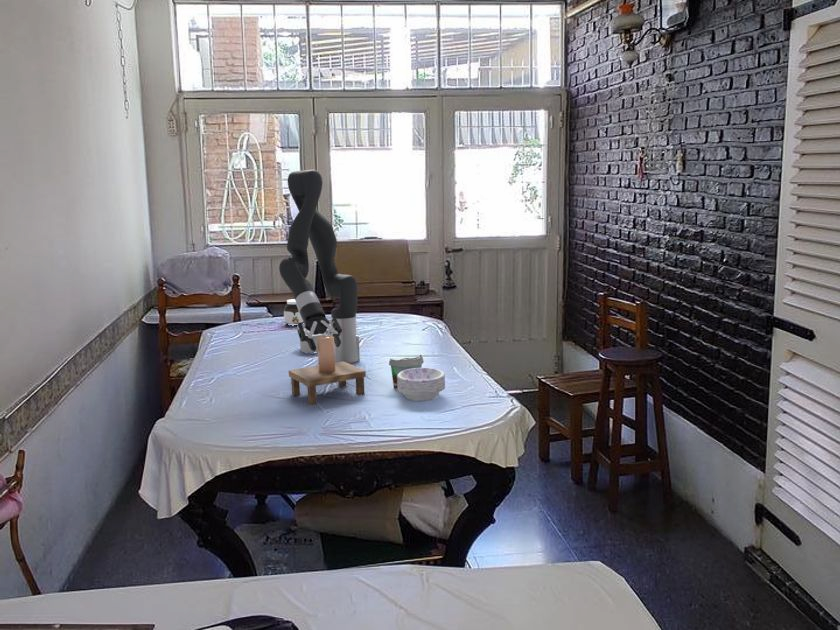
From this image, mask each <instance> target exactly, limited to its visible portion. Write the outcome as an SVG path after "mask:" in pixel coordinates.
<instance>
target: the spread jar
mask: <svg viewBox="0 0 840 630" xmlns="http://www.w3.org/2000/svg"><path fill="white" fill-rule="evenodd" d="M283 321H284V322H285V324H286V325H287V324H298V323H302V324H303V323H304V322H303V320H302V317H301V315H300V312H299V311H298V308H297V304H296V301H295V299H287V300H286V305H285V307H284V309H283Z"/></svg>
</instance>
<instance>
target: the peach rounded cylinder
mask: <svg viewBox="0 0 840 630" xmlns="http://www.w3.org/2000/svg"><path fill="white" fill-rule="evenodd" d="M317 345H318V353H317V357H318V358H317V361H318V365H319V372H323V373H328V372H333V371H335V349H334V337H333V336H330V335H326V336H320V337H317ZM318 365H317V366H318Z"/></svg>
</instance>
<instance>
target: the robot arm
mask: <svg viewBox="0 0 840 630" xmlns="http://www.w3.org/2000/svg"><path fill="white" fill-rule="evenodd" d="M287 186H288V187H287V188H288V191H289V193H290V195H291V197H292V200H293V201H294V203H295V206H296V208H297V210H298V213H297V214H296V216H295V218H294V219H293V221H292V223H291V224H290V226H289V230H288V234H287V236H288V237H287V242H286V249H287V252H288V253H289V254H290V255H291V256H292V257H285V258H283V259H281V262H280V263H279V266H278V268H279V269H278V270H279V274H280V277H281V278H282V280H283V281H284V282H285V284H286V286H287V287H288V288H289V290H290V291H291V293H292V296H293V298H294V299H295V301H296V304H297V308H298V311H299V312H300V315H301V317H302V320H303V322H304V324H302V323H298V325H297V326H296V327H295V328H296V331H297V334H298V338H299V341H300V340H301V341H302V342H303V341H306V342H307V343H308V345H309V347H310V349H311V350H312V351H315V350H316V345H315V343H314V340H313V338H312V335H313V334H315V335H318V334H324V333H325V334H326V336H333V337H334V349H335V363H336V362H342V361H344V362H346V363H349V364H351V363H356V362H358V361H361V358H360V356H361V355H360V354H361V353H360V337H359V335H357V309H358V295H359V294H358V282H357V279H356V278H355V276H353V275H351V274H343V273H339V270H338V268H337V265H336V263H335V257H336V252H337V247H338V240H337V237H336V236H337V235H336V233H335V230H334V228H333V225H332V224H331V222H330V221H329V219H327V217H326V216H325V215H323V214H322V213H321V211H320V210H319V209H317V207H318V203H319V201H320V197H321V195H322V189H323V178H322V175H321V173H320V172H319V171H318V170H316V169H304V170H295V171H291V172H290V173H289V174H288V176H287ZM309 241H310V244H311V247H312V249H313V252H314V254H315V257H316V260H317V263H318V267H319V269H320V272H321V277H322V282H323V285H324V286H323V287H324V288H325V291H326V294H327V295H328V296H329V297H330V298H332V299H337V300H338V299H339V305H338V306H337V307H334V308H333V309H332V310H331V311H330V312H331V313H330V315H331V317H330V318H331V319H328V318H327V317H326V313H325V311H324V308H323V307H322V304H321V302H320V300H319V297H318V296H317V294H316V293H315V291H314V286H312V284H311V282H310V281H309V280H308V279H307V277H308V275H309V271H310V269H309V267H310V266H309V265H310V263H309V262H310V261H309V255H308V245H309ZM305 329H307V330H308V331H310V332H309V334H308V336H306V335H305V332H304V330H305Z"/></svg>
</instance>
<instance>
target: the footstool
mask: <svg viewBox="0 0 840 630" xmlns="http://www.w3.org/2000/svg"><path fill="white" fill-rule="evenodd" d="M366 373H367V372H366V370H364V369H362V368H360V367H357V366H356V365H353V364H351V363H346V362H344V361H342V362H336V363H335V371H333V372H328V373H323V372H319V365H314V366H308V367H303V368H302V367H301V368H295V369H290V370H288V377H289V378H290V384H291V395H293V396H298V395H301V390H300V389H301V388H300V386H301V385H300V384H303V385H305V386H306V387H307V404H309V405H310V406H313V405H317V404H318V403H317V402H318V401H317V386H323V385H329V384H334V383H337V384H338V387H341V388H343V387H346V386H347V381H351V380H355V394H356V395H357V396H358V397H359V396H364V395H365V378H366V377H367V374H366Z"/></svg>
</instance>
